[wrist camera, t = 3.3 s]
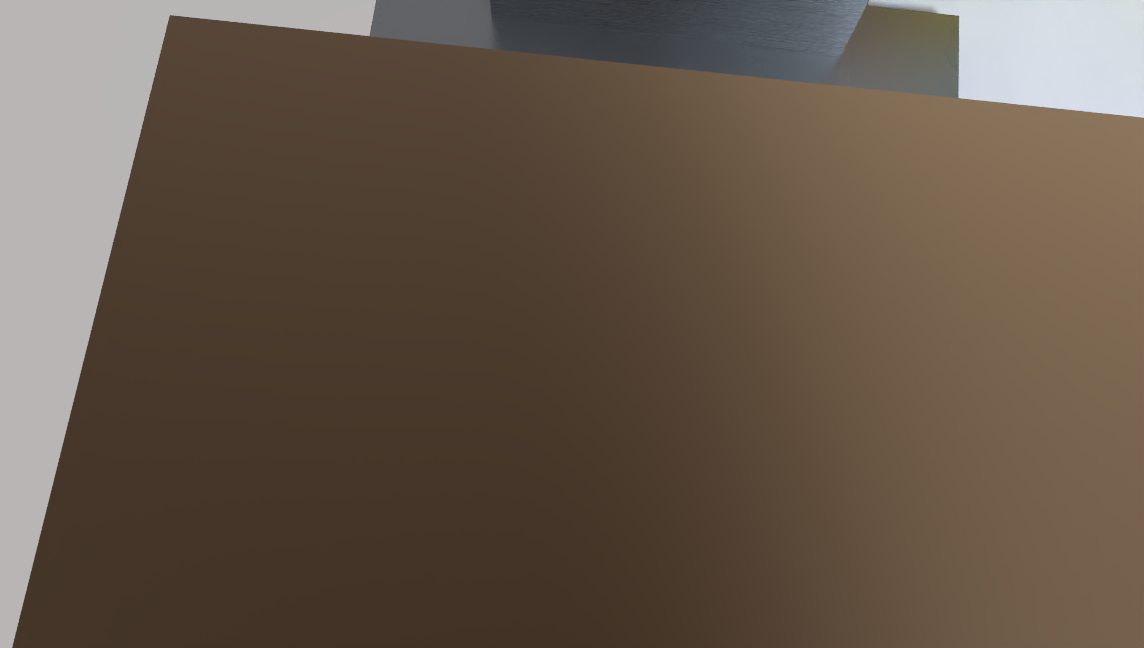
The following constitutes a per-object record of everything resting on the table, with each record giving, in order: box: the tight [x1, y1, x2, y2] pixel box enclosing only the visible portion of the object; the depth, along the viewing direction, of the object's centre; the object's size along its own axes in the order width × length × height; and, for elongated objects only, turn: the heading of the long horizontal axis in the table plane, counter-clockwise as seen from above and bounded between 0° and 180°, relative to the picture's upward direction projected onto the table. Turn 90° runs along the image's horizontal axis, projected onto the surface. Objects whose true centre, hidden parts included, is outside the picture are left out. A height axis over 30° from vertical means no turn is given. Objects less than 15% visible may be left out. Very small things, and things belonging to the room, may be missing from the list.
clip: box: [370, 0, 959, 98], centre depth 15 cm, size 8×10×4 cm
